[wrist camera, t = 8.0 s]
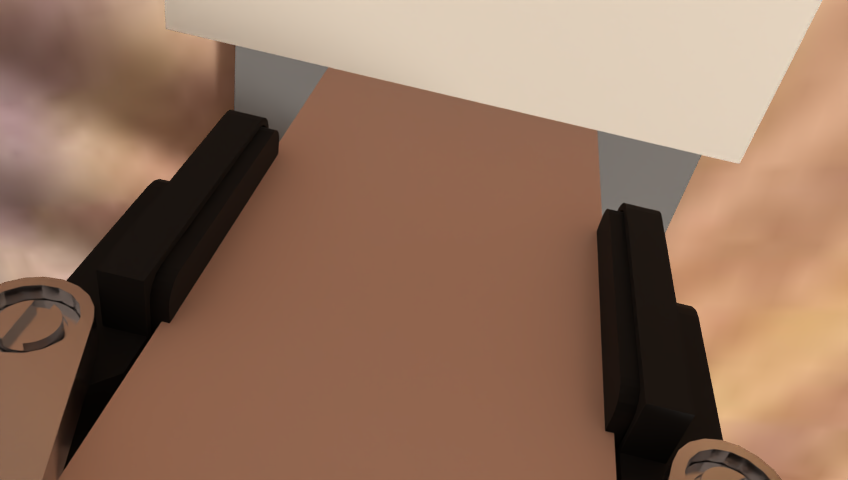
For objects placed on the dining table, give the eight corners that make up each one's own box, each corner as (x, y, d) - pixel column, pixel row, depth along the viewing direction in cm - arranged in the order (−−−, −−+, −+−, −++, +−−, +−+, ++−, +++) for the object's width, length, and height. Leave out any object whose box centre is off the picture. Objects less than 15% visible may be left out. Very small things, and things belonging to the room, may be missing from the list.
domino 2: (338, 53, 14) (36, 511, 6) (596, 114, 14) (626, 662, 6) (327, 143, 15) (63, 625, 7) (565, 201, 15) (557, 752, 7)
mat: (278, -1159, 9) (261, -1208, 8) (1210, -979, 9) (1247, -1017, 8) (235, 353, 25) (228, 366, 24) (564, 434, 24) (564, 449, 24)
